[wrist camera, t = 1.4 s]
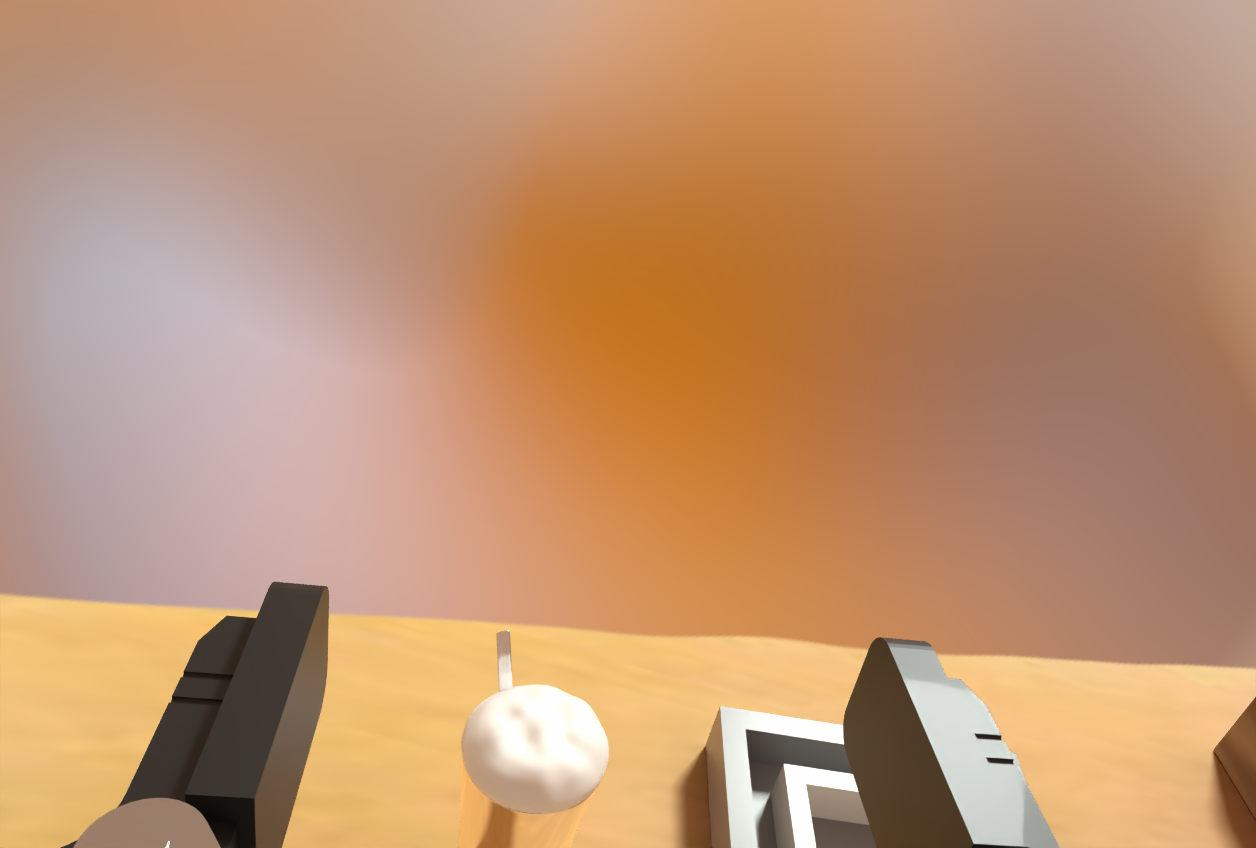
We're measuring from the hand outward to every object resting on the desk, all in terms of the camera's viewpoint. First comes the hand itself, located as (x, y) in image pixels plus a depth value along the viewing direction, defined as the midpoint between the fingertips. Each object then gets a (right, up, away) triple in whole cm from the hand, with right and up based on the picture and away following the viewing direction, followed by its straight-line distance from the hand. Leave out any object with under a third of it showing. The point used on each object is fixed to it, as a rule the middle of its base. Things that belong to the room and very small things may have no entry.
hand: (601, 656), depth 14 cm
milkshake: (-4, -13, +20) cm, 24 cm away
